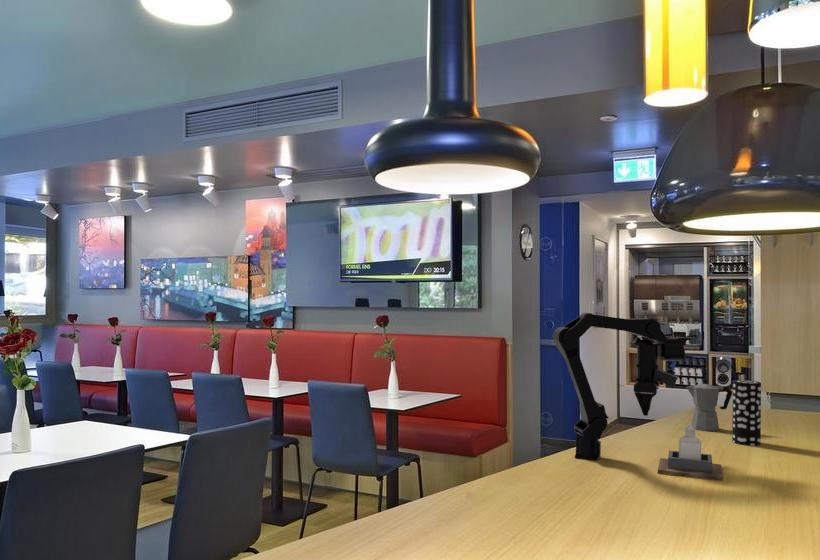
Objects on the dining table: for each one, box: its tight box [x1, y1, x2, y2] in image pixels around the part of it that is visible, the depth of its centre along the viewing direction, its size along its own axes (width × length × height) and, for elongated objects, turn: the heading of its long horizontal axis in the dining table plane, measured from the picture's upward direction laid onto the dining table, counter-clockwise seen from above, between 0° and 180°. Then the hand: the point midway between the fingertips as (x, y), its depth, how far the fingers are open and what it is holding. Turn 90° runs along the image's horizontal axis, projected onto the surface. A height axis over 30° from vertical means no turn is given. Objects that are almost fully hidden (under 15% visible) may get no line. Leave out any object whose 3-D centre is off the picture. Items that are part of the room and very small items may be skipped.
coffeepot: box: [685, 378, 733, 432], centre depth 243 cm, size 15×9×18 cm, turn 70°
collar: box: [667, 450, 713, 473], centre depth 185 cm, size 11×9×3 cm
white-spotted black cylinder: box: [731, 379, 762, 447], centre depth 221 cm, size 8×8×20 cm
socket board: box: [657, 457, 724, 482], centre depth 185 cm, size 16×14×1 cm
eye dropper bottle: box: [678, 422, 702, 460], centre depth 185 cm, size 4×6×12 cm
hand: (646, 413), depth 200 cm, fingers open, 9 cm apart
